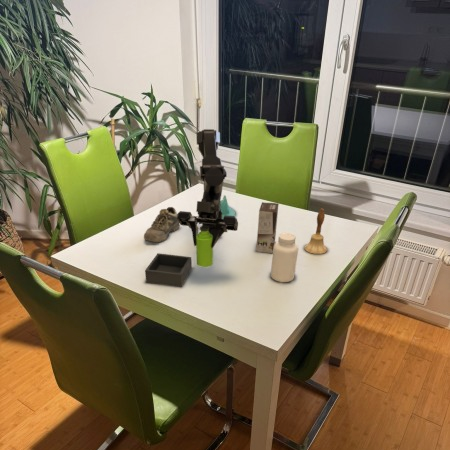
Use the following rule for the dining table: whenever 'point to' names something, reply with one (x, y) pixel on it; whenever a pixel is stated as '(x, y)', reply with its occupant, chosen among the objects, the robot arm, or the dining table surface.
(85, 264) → the dining table surface
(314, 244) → the hand bell
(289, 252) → the pill bottle
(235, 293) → the dining table surface
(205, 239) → the green bottle
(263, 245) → the coffee box
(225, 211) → the teal witch hat
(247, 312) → the dining table surface
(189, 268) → the tote
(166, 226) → the hiking shoe
